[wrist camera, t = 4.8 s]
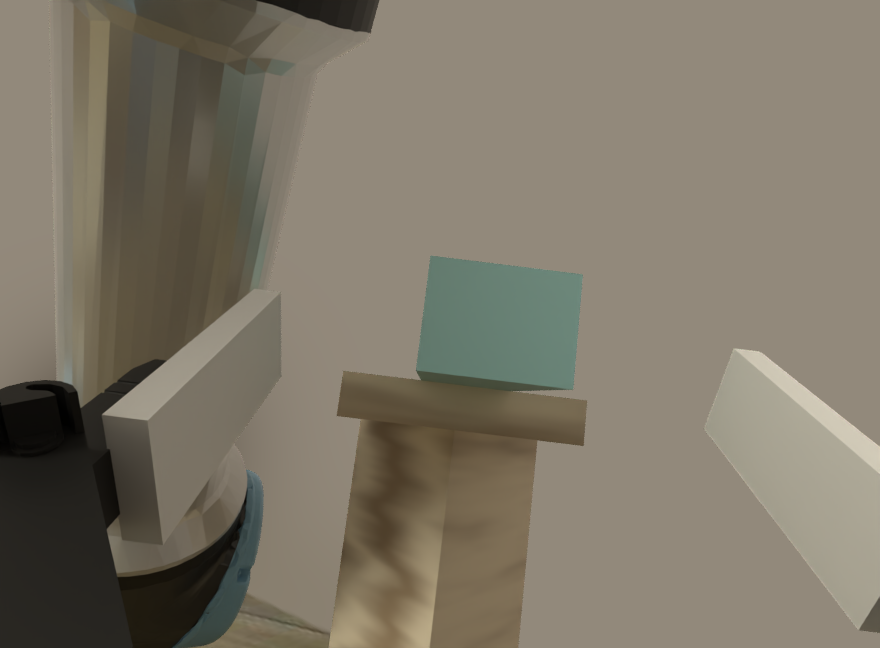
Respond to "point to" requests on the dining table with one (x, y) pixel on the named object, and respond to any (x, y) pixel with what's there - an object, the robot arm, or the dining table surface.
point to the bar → (499, 326)
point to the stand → (440, 511)
